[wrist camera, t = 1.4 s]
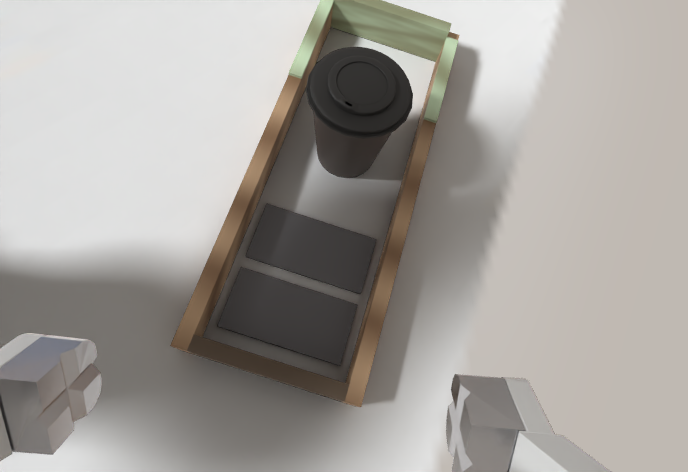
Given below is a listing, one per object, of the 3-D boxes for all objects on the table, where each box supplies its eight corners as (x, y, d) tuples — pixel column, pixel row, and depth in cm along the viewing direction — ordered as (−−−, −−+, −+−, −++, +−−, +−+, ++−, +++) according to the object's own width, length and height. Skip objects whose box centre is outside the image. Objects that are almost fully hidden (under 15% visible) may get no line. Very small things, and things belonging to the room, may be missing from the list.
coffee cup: (302, 191, 39) (307, 127, 30) (301, 114, 42) (305, 33, 33) (391, 192, 40) (422, 131, 31) (385, 117, 43) (412, 40, 34)
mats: (339, 365, 35) (339, 365, 34) (217, 326, 34) (217, 325, 34) (375, 240, 39) (376, 239, 38) (266, 205, 38) (266, 203, 38)
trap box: (354, 406, 34) (363, 407, 30) (180, 349, 34) (166, 344, 30) (448, 56, 47) (463, 27, 43) (323, 15, 46) (326, -19, 43)
